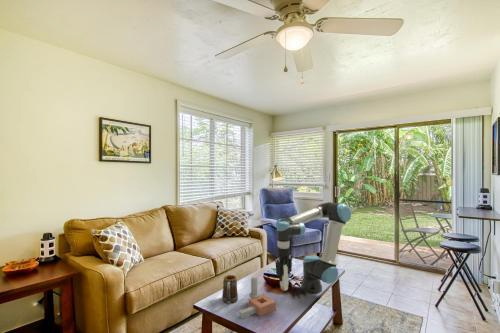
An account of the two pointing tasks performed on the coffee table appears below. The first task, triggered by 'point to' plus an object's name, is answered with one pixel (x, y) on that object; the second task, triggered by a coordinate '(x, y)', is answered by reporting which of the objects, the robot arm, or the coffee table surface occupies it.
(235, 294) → the mug
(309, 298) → the coffee table surface
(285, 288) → the wedge pin
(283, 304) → the coffee table surface
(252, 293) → the square hole peg fixture
